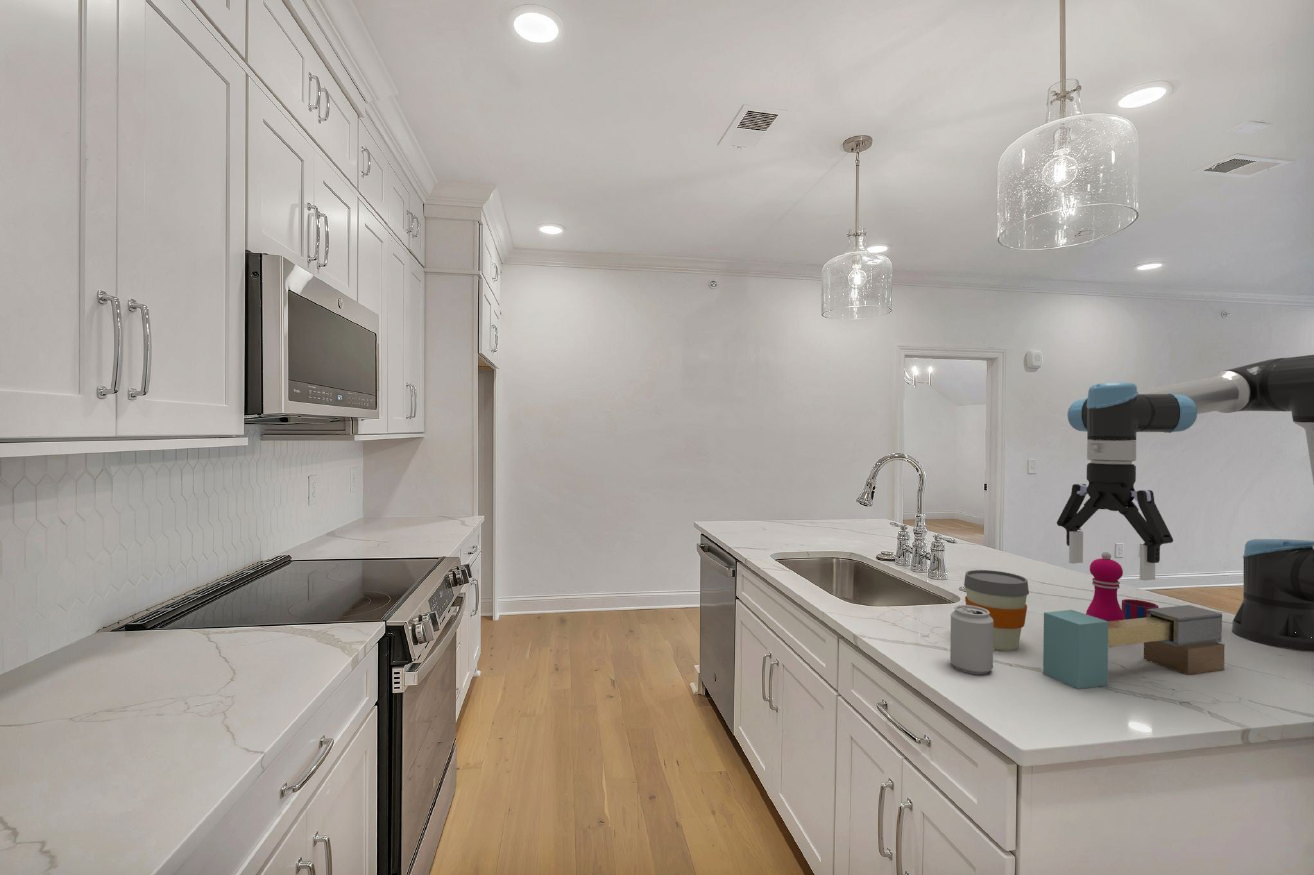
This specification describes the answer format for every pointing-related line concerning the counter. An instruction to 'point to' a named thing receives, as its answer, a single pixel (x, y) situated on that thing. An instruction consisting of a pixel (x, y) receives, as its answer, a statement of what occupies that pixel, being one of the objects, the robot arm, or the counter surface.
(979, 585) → the reusable coffee cup
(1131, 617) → the cup
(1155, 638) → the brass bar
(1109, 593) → the pepper mill
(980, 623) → the can
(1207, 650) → the sleeve stand
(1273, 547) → the robot arm
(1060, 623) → the socket block
